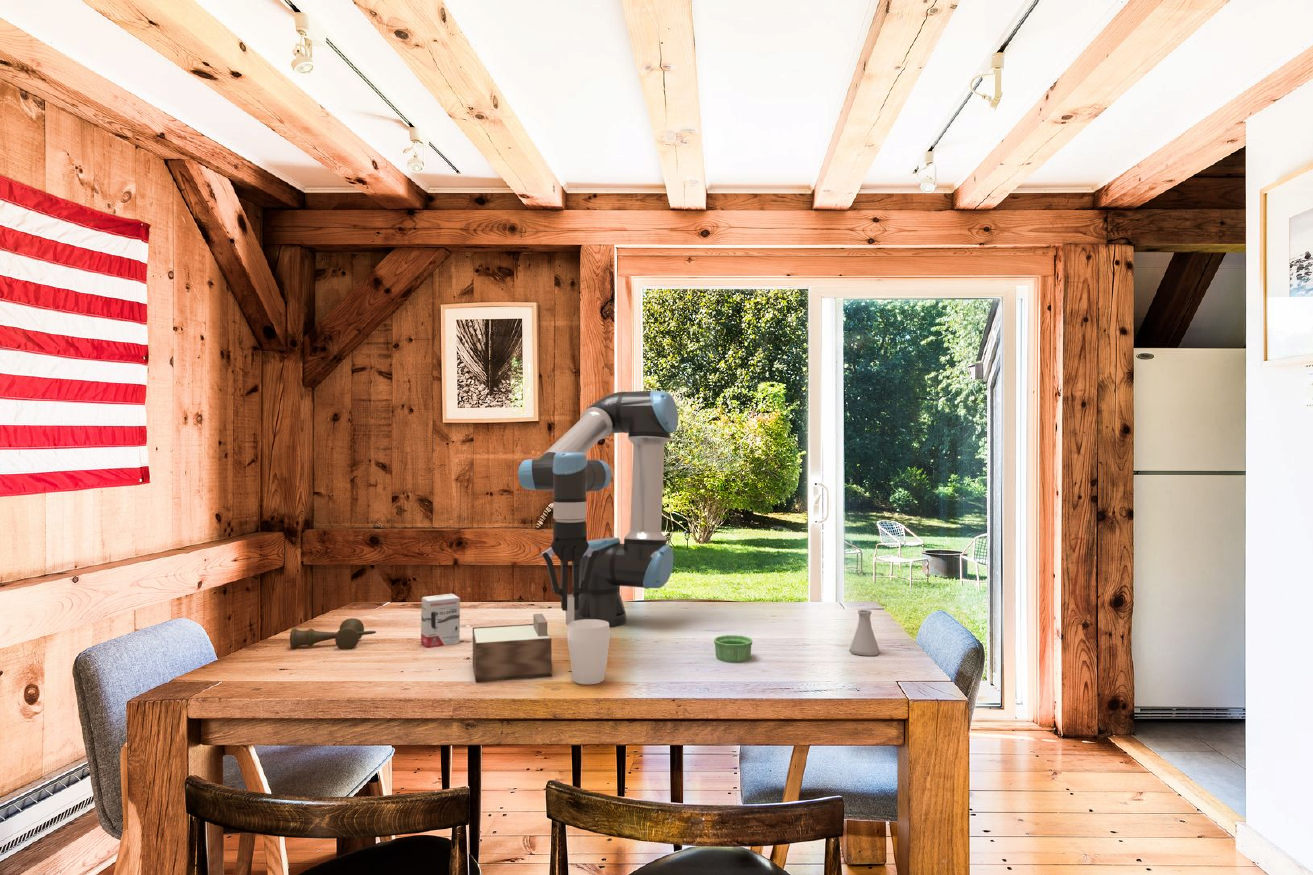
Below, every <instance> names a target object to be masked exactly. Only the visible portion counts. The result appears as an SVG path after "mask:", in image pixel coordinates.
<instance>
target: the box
mask: <svg viewBox="0 0 1313 875" xmlns="http://www.w3.org/2000/svg"><path fill="white" fill-rule="evenodd" d="M526 625H533V623H525V624H509V625H507V624H505V625H491V626H475V627H474V626H473V627H472V667H473V675H474V680H475V683H486V682H487V683H488V682H498V680H499V681H509V680H522V679H535V678H536V679H537V678H547V677H549V678H550V677H552V674H553V672H552V670H553V669H552V663H553V662H552V648H553V647H552V646H553V645H552V642H553V641H552V637H550V638H542V639H526V640H511V641H496V642H481V643H476V642H475V636H474V629H477V628H494V627H510V626H526Z"/></svg>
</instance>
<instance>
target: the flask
mask: <svg viewBox="0 0 1313 875" xmlns="http://www.w3.org/2000/svg"><path fill="white" fill-rule="evenodd" d="M857 614H858V624H857V628H856V631H855V634H854V637H853V639H852V641H851V645H850V647H849V652H850V653H851V654H853V655H859V656H866V657H867V656H874V657H876V656H878V655H879V654H881V651H880V648H879V645H878V642H877V640H876V637H875V634H874V630H873V628H872V622H871V621H872V620H871V615H872V611H871V610H869V609H858V610H857Z"/></svg>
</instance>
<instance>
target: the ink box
mask: <svg viewBox="0 0 1313 875" xmlns="http://www.w3.org/2000/svg"><path fill="white" fill-rule="evenodd" d="M460 601H461V598H460V597H459V596H457V595H456V594H454V593H447V594H438V595H430V596H429V595H428V596H423V597H421V612H420V613H421V615H420V618H421V621H420V622H421V623H420V644H421V645H422V646H424V647H426V648H427V649H428V648H429V649H430V648H434V647H442V646H443V647H444V646H450V645H455V644H456V645H458V644H460V643H461V642H460V638H461V636H460V633H461V630H460V628H461V624H460V621H461V620H460V617H461V614H460V612H461V610H460V609H461V607H460V606H461V604H460V603H461V602H460ZM457 643H458V644H457Z"/></svg>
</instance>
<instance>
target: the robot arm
mask: <svg viewBox="0 0 1313 875" xmlns="http://www.w3.org/2000/svg"><path fill="white" fill-rule="evenodd" d="M678 425H679V413H678V408H677V405H676V401H675V399H674V398H673V396H672V395H671V394H670V393H669V392H667V391H661V390H653V389H652V390H642V391H641V390H639V391H636V390H635V391H617V392H613V393H610V394H607V395H605V396H603V397H602V398H600V399H598V400H596V401H595V402H593V403H592V404H590V405H589V406H588V407H587V408H585V410H583V412H582V414H581V415H580V419H579V420H578V421H577V422H576V423H575V424H574V425H573V426H572V427H571V428H570V429H568V430H567V432H565V433H564V434H563V435H562V436H561V437H560V438H559V439H558V440H557V441H556V442H554V443H553V444H552V446H550V447H549V448H548V449H547V450H546V451H544V453H543V454H542V455H540V457H539V458H536V459H535V458H531V459H529V458H528V459H525V460H522V462H521V463H520V465H519V467H518V471H517V477H518V482H519V485H520V486H521V487H522V488H523V489H524V490H529V491H530V490H531V491H536V492H539V491H553V497H552V498H553V499H552V500H553V502H552V503H553V507H552V508H553V509H552V512H553V513H552V515H553V517H552V518H553V519H554V520H555V521H554V522H553V523H552V525H553V526H552V528H553V532H552V535H553V537H552V542H551V544H550V547H549V548H548V549H546V550H545V551H544V550H543V551H542V552H541V556H542V558H543V560H544V561H545V562H546V564H545V565H546V567H547V572H548V575H549V579H550V585H551V587H552V591H553V593H554V594H555V595H558V596H560V598H561V599H560V606H561V610H562V611H563V612H564V611H565V625H566V626H567V627H568V624H569V623H570V622H572V621H576V620H584V619H597V620H604V621H607V622H609V628H611V627H617V626H620V625H624V624H626V622H627V611H626V609H625V605H624V602H623V600H622V595H621V588H620V587H629V588H642V589H648V590H649V589H661V588H662V587H664V586H665V585H666V584H667V583H668V581H669V579H670V577H671V574H672V572H673V568H674V557H675V556H674V554H673V553H674V551H673V549H672V547H671V546H669V545H668V544H667V538H666V537H665V535H664V534H663V533H662V517H663V515H662V514H663V493H664V492H663V491H664V490H663V489H664V487H663V486H664V465H665V463H664V461H665V457H664V456H665V446H666V444H668V443H669V442H670V441H671V434H673V433H675V432H676V431H677V430H678ZM622 433H623V434H628V437H627V438H628V440H629V441H630V442H631V443H632V446H633V447H632V448H633V449H632V470H631V471H632V472H631V473H632V475H631V497H630V498H631V499H630V500H631V501H630V521H629V523H630V526H629V532H628V533H627V534H626V535H625V536H624V537H623V543H621V539H620V538H619V537H605V538H596V539H591V540H588V539H587V538H588V536H587V528H588V527H587V522H586V520H585V519H587V517H588V516H587V493H588V492H599V491H601V490H604V489H606V488H607V487H608V486H609V485H610V484H611V481H612V477H613V475H612V470H611V467H610V465H609V464H608V463H607V462H605V461H604V460H601V459H597V458H596V459H587V455H586V454H587V453H588V452H589V451H590V450H591V449H592V448H593V447H594V446H595V445H596V444H597V443H598V442H599V441H600V440H603V439H606V438H608V437H609V436H610V435H612V434H622ZM553 553H554V554H555V556H556V557H557V558H558V559H559V561H560V587H559V582H558V578H557V573H556V569H555V566H554V562H553V560H552V559H553V558H554V554H553ZM569 562H571V580H572V581H571V593H572V594H569V588H568V587H569V581H568V580H569V578H568V577H569V575H568V574H569Z"/></svg>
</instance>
